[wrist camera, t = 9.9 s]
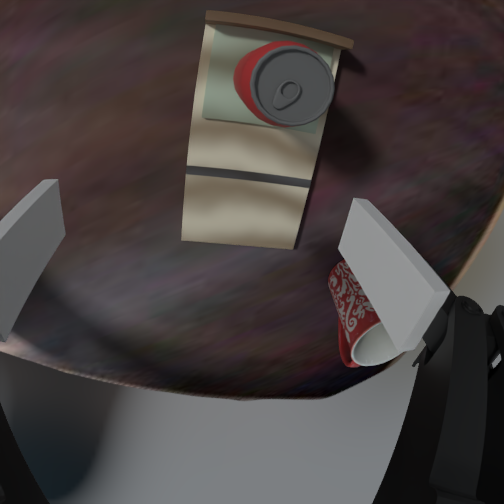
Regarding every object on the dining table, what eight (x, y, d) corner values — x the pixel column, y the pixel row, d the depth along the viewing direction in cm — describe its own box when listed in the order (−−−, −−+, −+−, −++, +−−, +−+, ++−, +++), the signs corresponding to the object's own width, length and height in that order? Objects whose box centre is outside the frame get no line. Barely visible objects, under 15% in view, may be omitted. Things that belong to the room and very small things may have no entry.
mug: (338, 243, 42) (377, 312, 30) (387, 256, 44) (431, 319, 33) (301, 310, 48) (323, 382, 37) (349, 317, 50) (377, 382, 39)
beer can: (219, 85, 28) (220, 95, 18) (260, 35, 25) (285, 18, 15) (271, 121, 30) (300, 153, 20) (311, 74, 28) (361, 82, 18)
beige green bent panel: (291, 245, 41) (298, 263, 38) (182, 236, 38) (179, 254, 35) (339, 42, 27) (354, 40, 24) (207, 16, 24) (206, 10, 21)
